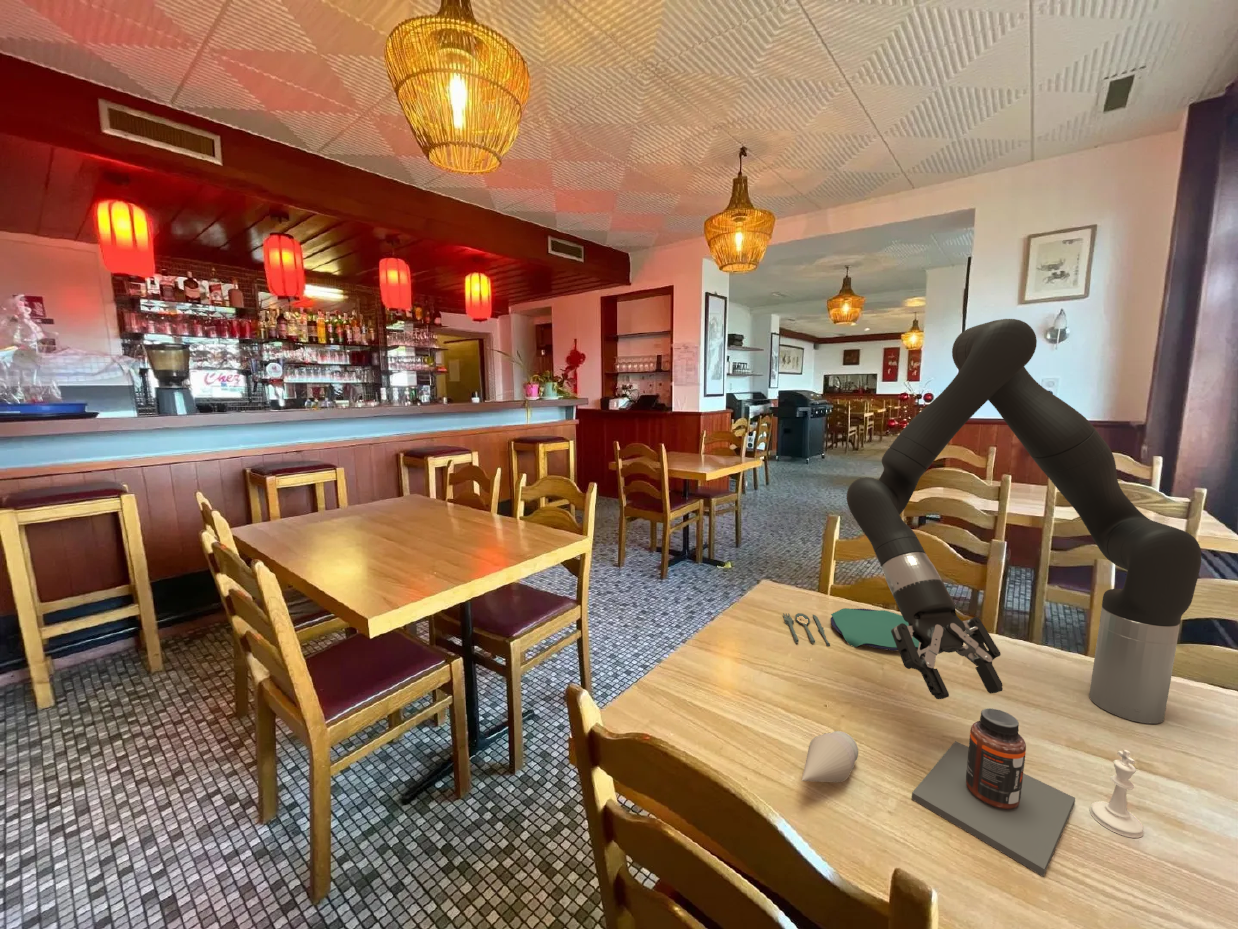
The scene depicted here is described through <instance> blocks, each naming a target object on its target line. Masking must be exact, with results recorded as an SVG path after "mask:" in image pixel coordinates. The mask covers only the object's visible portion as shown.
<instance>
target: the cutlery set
mask: <svg viewBox="0 0 1238 929" xmlns="http://www.w3.org/2000/svg"><path fill="white" fill-rule="evenodd" d="M782 614H783V615H784V616H783V619H784V620H783V621H784V623H785V625H787V624H788V625H787V626H789V629H790V633H791V635H792V637H793V640H794V642H795V643H796V644H799V641H800V640H799V638H798V635H797V633H796V631H795V628H794V626H793V624H794V623H795V620H796V622H797V623H798V624H801V625H803V628H805V631H806V632H807V635H808V636H807V637H808V638H809V640H810V643H811V644H816V640H815V637H814V636H813V634H812V632H811V630H810V629H809V627H808V626H807V625H808V624H810V622H811V619H810V618H809V616H807V615H806V614H804V613H801V612H797V614H795V620H794V619H793V618H792V616H791V615H790V613H786V612H785V613H784V612H783V613H782ZM830 615H831V617H830V623H831V627H832V628H834V630H835V631H836V632H837V633H839V634H840V635H841V636H843V638H844V640H845V641H846V643H847V644H849V645H850V646H851V645H852V646H851V647H853V646H854V648H857V647H859V646H862V645H863V646H866V647H870V648H873V649H877V650H885V651H893V652H894V651H895V652H899V651H898V649H897V646H896V643H895V641H894V638H893V635H892V633H891V630H892V629H893V628H895V627H896V626H898V625H899V624H901V623H903V624H905V625H906V626H909V624H908V622H906V621H905V620H904V619H903V616H902V614H899V613H895V612H892V611H889V610H884V609H882V610H881V609H880V610H878V609H871V608H848V607H847V608H846V607H845V608H841V609H839V610H837V611H835V612H832V613H831V614H830ZM799 616H803V617H804V618H805V619H808V623H807V624H805V623H806V622H802V621H798V620H797V617H799ZM812 617H813V620H814V622H815V624H816V626H817V628H818V629H817V632H819V631H820V632H819V633H820V634H821V635H822V637H823V639H824V641H825V643H826V647H830V646H831V643H830V642H829V641H828V639H827V637H826V636H827V635H826V634H825V630H824V627H822V623H821V621H820V619H819V617H818V616H817V615H816V614H812ZM912 640H913V642H914V645H915V647H916V650H918V646H919V641H918V640H917V639H915V638H914V637H913V638H912Z"/></svg>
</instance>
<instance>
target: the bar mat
mask: <svg viewBox="0 0 1238 929" xmlns="http://www.w3.org/2000/svg"><path fill="white" fill-rule="evenodd" d="M968 749H969V746H967V745H966V744H963V743H961V742H959V741H956V740H955V741H954V742H953V743H952V744H951V746H950V747H949V748H948V749H947V750H946V752H945V753H944V754H943V755H942V756H941V758H940V759H939V760H937V763H936V764H935V765H934V766H933V767H932V768H931V770H930V771H929V772H928V773H927V775H926V776H924V778H923V779H922V781H920V783H919V784H917V786H916V787H915V789H914V790H913V791H912V792H911V800H912V801H914V802H915V803H917V804H918V805H921V806H923V807H924V808H926V809H928V810H929V811H932V812H933V813H934V814H936V815H938V816H939V817H941V818H943V819H945V820H947V822H949V823H951V824H953V825H955V826H957V827H958V828H960V829H962V830H963V831H965V832H967V833H968V834H970V835H972V836H974V837H975V838H977V839H979V840H980V841H982V842H983V843H986V844H987V845H989V846H990V847H993V848H994V849H996V850H997V851H998V852H1000V853H1002V854H1004V855H1005V856H1007V857H1009V858H1011V859H1012V860H1014V861H1016V862H1018V863H1019V864H1021V865H1022V866H1024V867H1025V868H1028V869H1029V870H1031V871H1033V872H1034V873H1036V874H1038V875H1039V876H1041V877H1045V874H1046V873H1047V870H1048V868H1049V864H1050V862H1051V860H1052V858H1053V855H1054V853H1055V851H1056V849H1057V845H1058V843H1059V841H1060V840H1061V837H1062V834H1063V832H1064V831H1065V830H1064V829H1065V827H1066V825H1067V823H1068V820H1069V819H1070V816H1071V813H1072V811H1073V808H1074V806H1075V802H1076V797H1075V796H1072V795H1070V794H1068V793H1066V792H1065V791H1062V790H1059V789H1058V788H1056V787H1054V786H1052V785H1050V784H1047V783H1045V782H1042V781H1041V780H1039V779H1036V778H1034V777H1032V776H1030V775H1028V774H1026V773H1024V772H1023V781H1022V789H1021V798H1020V803H1019V805H1018V806H1017V807H1015V808H1012V809H1003V808H998V807H995V806H992V805H990V804H987V803H985V802H983V801H982V800H980V799H979V798H977V797H976V796H975V795H974V794H973V793H972V792H971V791H970V790H969V788H968V787H967V784H966V770H967V761H968Z"/></svg>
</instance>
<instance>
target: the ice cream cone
mask: <svg viewBox="0 0 1238 929" xmlns="http://www.w3.org/2000/svg"><path fill="white" fill-rule="evenodd" d="M808 745H809V746H808V748H807V753H806V754H807V755H806V758H805V763H804V768H803V773H802V777H801V782H817V783H818V782H820V783H822V782H823V783H841V782H845V781H846V780H847V779H849V777H850V774H851V772H852V770H853V769H854V766H855V763H856V761H857V760H858V758H859V747H858V745H857V743H856V741H855V740H854V738H853V737H852V736H851V735H850V734H848V733H847V732H844V731H841V730H836V731H832V732H828V733H827V732H826V733H823V734H820V735H817V736H814V737H813V738H812V739H811V740H810V743H809V744H808Z"/></svg>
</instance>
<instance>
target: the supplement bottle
mask: <svg viewBox="0 0 1238 929" xmlns="http://www.w3.org/2000/svg"><path fill="white" fill-rule="evenodd" d="M1019 726H1020V723H1019V721H1018V719H1017V718H1016V717H1015V716H1013V715H1012V714H1010V713H1008V712H1007V711H1004V710H1001V709H997V708H989V707H988V708H983V709H982V710H981V712H980V718H979V720H978V721H975V722H974V723H972V725H971V727H970V731H969V740H968V747H969V749H968V761H967V770H966V784H967V787H968V788H969V790H970V791H971V792H972V793H973V794H974V795H975V796H976V797H977V798H979V799H980V800H982V801H983V802H985V803H987V804H990V805H992V806H995V807H998V808H1003V809H1012V808H1015V807H1017V806H1018V805H1019V803H1020V798H1021V789H1022V781H1023V773H1024V770H1025V762H1026V754H1027V752H1026V751H1027V745H1026V741H1025V739H1024V737H1022V735H1021V734H1019V731H1020V730H1019Z"/></svg>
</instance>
